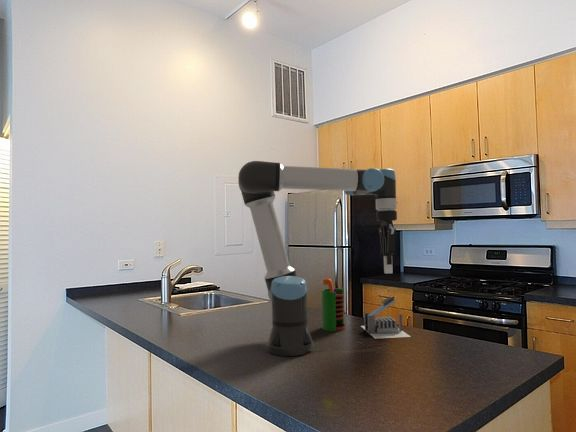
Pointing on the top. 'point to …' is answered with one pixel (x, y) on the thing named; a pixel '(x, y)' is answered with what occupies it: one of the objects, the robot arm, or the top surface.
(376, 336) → the board
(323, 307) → the motor
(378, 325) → the heatsink
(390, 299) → the grey-blue slender bar
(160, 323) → the top surface
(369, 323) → the mount
